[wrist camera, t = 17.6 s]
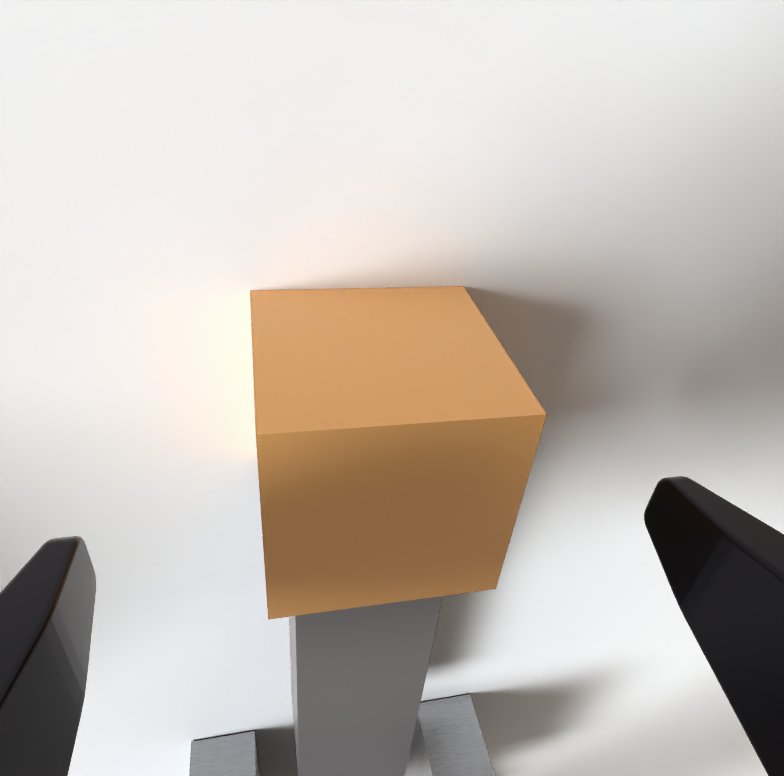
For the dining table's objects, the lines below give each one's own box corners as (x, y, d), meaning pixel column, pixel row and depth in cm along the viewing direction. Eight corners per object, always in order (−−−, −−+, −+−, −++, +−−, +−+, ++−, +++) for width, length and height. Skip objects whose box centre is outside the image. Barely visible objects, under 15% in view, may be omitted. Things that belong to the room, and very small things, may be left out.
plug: (399, 672, 20) (430, 811, 17) (275, 692, 19) (283, 842, 16) (463, 285, 12) (546, 414, 8) (249, 290, 11) (256, 434, 8)
